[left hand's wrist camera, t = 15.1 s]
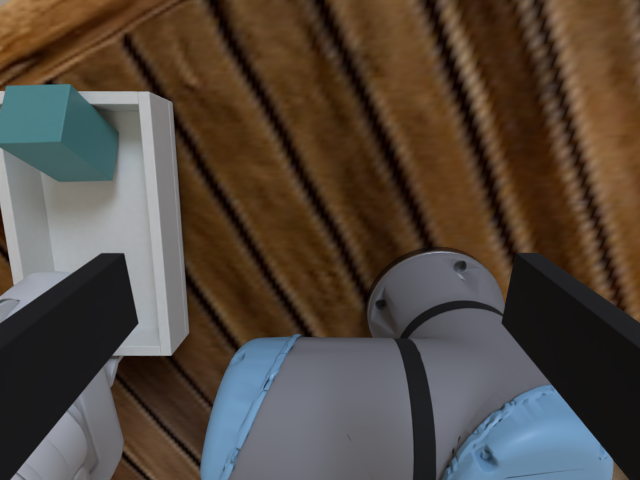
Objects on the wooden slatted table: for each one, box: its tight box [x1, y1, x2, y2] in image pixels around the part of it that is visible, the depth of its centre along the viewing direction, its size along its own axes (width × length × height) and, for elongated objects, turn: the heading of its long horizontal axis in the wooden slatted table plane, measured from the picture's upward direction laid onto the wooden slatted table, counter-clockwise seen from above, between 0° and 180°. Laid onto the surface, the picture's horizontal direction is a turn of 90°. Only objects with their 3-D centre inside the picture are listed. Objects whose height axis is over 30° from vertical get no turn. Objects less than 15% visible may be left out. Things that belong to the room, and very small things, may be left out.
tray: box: [0, 91, 189, 356], centre depth 35 cm, size 24×14×5 cm, turn 0°
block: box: [0, 84, 119, 182], centre depth 31 cm, size 5×5×7 cm
